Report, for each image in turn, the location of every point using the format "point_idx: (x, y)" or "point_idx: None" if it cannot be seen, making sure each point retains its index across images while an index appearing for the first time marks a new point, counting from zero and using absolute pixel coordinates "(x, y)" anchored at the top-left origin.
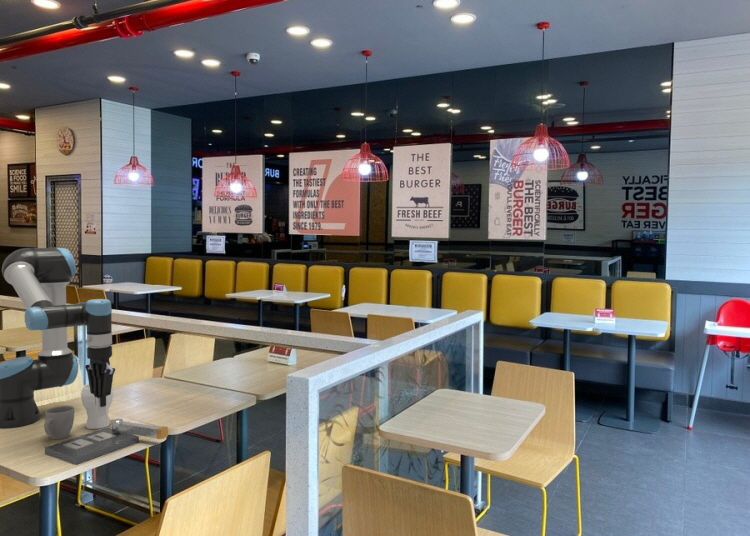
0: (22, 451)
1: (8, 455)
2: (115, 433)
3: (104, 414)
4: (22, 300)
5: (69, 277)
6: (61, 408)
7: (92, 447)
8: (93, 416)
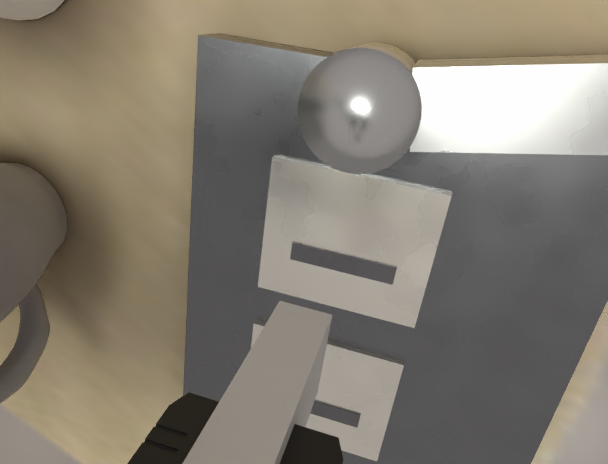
0: (85, 417)
1: (84, 460)
2: None
3: (326, 338)
4: None
5: None
6: None
7: (450, 414)
8: None
